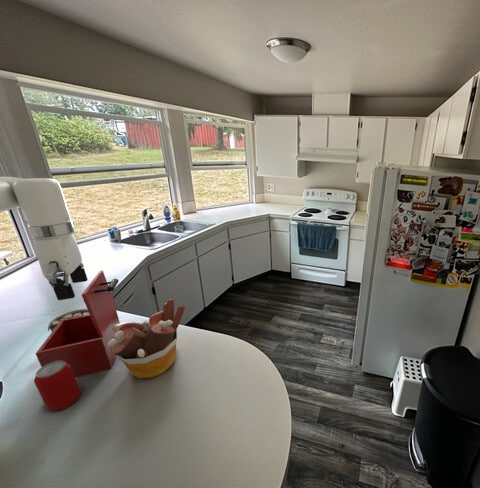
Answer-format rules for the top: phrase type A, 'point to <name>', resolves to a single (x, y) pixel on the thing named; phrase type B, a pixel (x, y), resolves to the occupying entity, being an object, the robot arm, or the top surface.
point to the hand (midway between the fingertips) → (74, 289)
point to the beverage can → (57, 385)
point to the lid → (100, 302)
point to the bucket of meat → (148, 342)
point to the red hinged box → (79, 346)
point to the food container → (71, 314)
